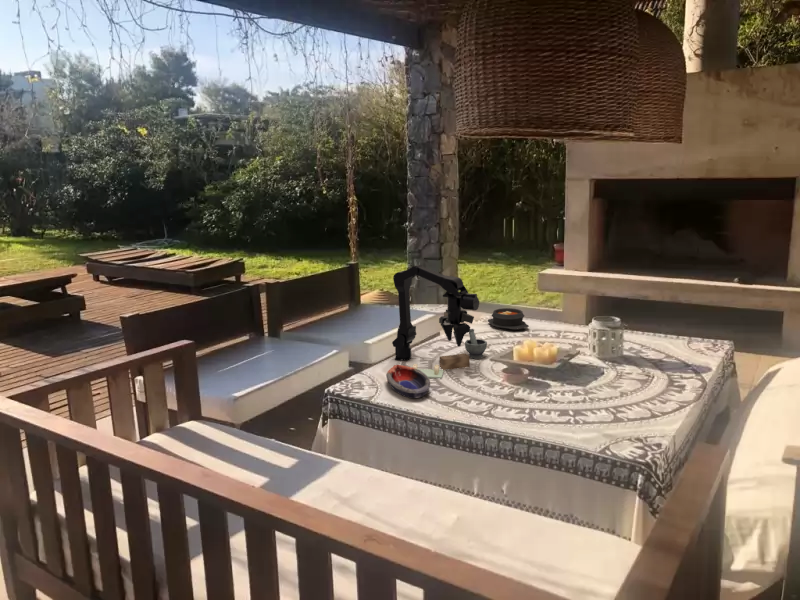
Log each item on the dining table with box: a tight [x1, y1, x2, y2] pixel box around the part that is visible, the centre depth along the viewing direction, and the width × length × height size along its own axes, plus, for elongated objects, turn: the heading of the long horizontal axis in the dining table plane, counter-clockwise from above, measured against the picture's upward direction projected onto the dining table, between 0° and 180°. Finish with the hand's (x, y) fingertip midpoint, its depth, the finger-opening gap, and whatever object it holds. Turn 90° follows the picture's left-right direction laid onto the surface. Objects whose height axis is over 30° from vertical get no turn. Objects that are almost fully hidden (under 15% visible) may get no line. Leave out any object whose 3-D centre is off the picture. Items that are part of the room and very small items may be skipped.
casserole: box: [487, 307, 530, 330], centre depth 339 cm, size 25×19×8 cm
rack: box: [411, 363, 445, 380], centre depth 267 cm, size 14×9×4 cm, turn 81°
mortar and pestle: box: [464, 328, 488, 360], centre depth 289 cm, size 11×9×12 cm
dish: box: [385, 364, 431, 399], centre depth 253 cm, size 16×31×5 cm, turn 14°
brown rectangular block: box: [438, 353, 471, 371], centre depth 276 cm, size 12×4×5 cm, turn 107°
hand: (454, 343), depth 274 cm, fingers open, 9 cm apart
